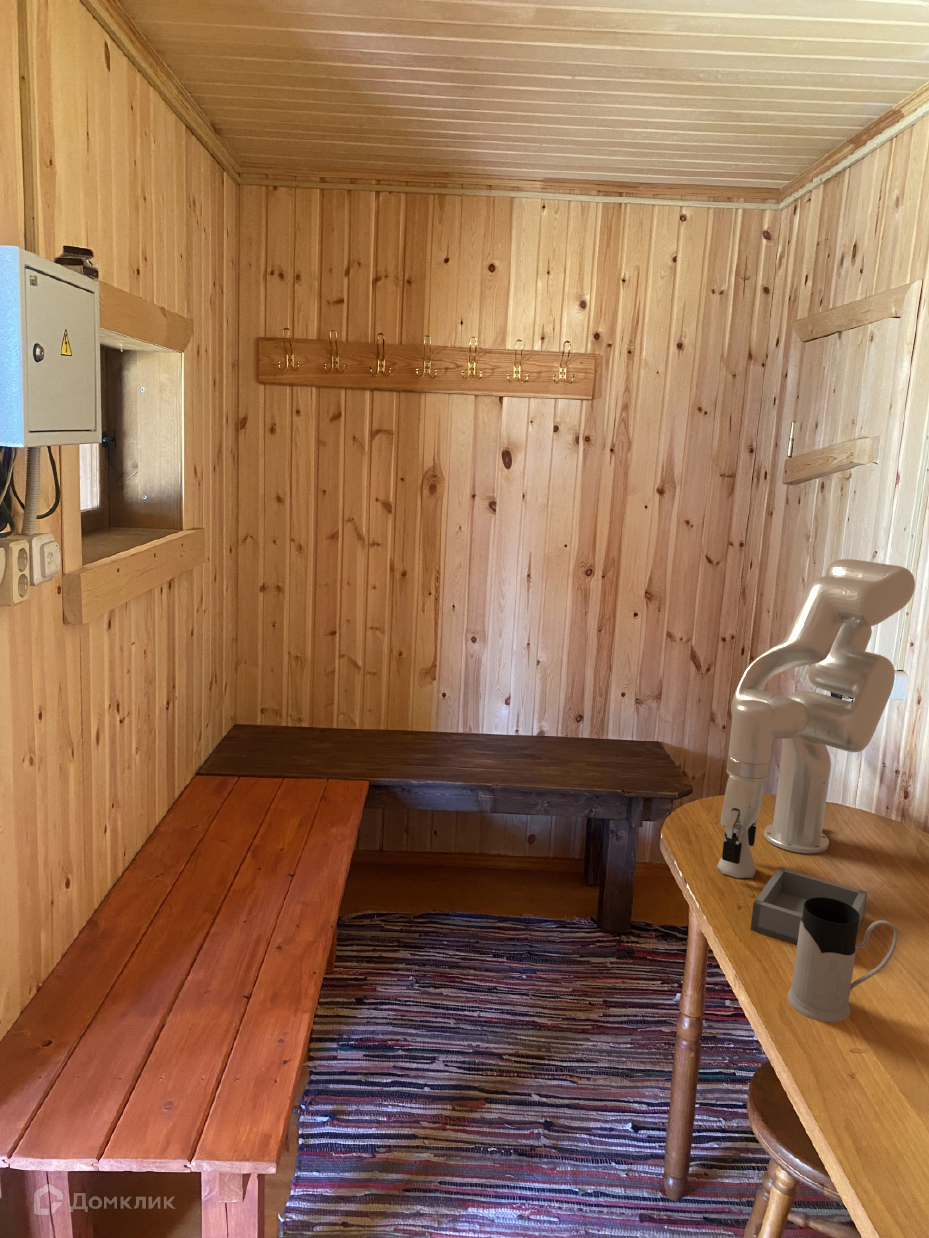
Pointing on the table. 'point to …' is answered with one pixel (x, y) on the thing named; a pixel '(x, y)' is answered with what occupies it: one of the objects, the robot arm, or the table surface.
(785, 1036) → the table surface
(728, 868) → the flask
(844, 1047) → the table surface
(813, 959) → the grey mug
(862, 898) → the charcoal box
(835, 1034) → the table surface
